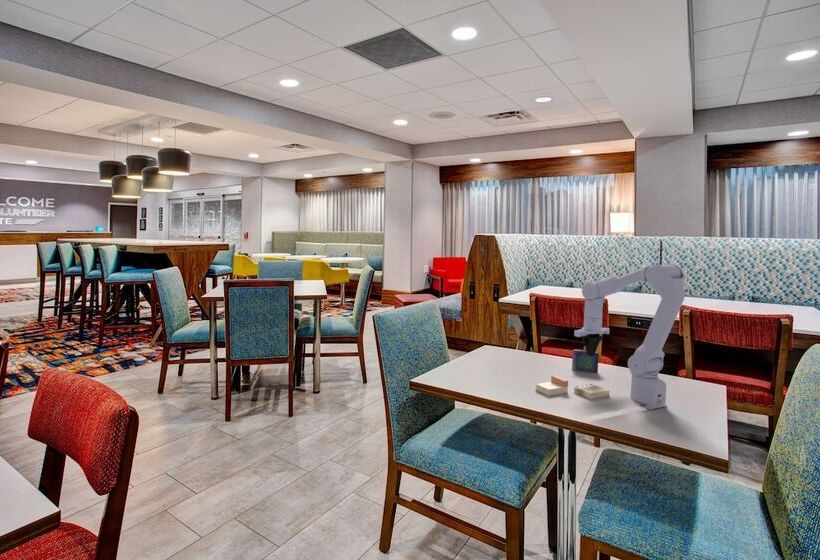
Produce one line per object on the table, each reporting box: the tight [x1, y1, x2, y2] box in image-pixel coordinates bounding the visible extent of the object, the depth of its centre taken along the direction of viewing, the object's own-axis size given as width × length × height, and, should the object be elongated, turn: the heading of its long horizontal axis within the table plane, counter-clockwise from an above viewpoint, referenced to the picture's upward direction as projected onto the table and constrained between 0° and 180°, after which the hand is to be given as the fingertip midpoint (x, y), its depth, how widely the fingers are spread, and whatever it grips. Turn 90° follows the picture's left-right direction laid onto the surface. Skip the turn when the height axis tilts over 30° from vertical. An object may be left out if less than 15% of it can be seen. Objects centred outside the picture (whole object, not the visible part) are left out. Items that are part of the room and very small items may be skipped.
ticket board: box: [573, 383, 610, 400], centre depth 149 cm, size 16×20×3 cm
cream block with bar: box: [535, 374, 569, 397], centre depth 150 cm, size 6×8×4 cm
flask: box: [571, 345, 599, 374], centre depth 173 cm, size 9×3×11 cm, turn 65°
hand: (590, 355), depth 161 cm, fingers closed
